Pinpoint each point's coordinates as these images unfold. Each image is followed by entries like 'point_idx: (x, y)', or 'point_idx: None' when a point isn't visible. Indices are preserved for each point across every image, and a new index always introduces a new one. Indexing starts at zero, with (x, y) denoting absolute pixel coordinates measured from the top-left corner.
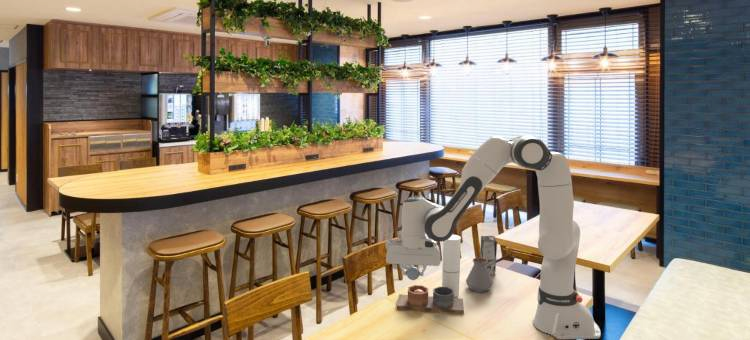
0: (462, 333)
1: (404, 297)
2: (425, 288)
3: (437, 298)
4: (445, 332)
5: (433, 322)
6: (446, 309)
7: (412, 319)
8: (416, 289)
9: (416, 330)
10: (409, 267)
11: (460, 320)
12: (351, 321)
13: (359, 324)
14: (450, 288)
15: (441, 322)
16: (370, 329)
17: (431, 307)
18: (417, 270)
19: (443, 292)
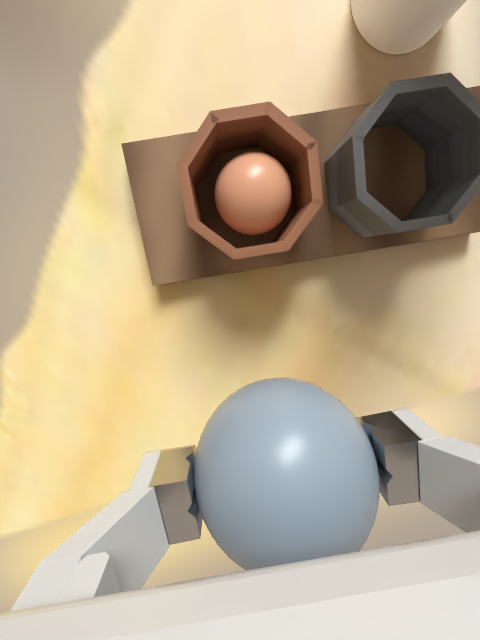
0: (458, 393)
1: (162, 177)
2: (295, 141)
3: (375, 226)
4: (395, 406)
5: (342, 348)
6: (399, 244)
7: (251, 352)
8: (226, 133)
9: None
10: (236, 534)
11: (453, 296)
12: (13, 445)
13: (56, 456)
14: (439, 10)
15: (374, 338)
16: (114, 474)
17: (326, 251)
18: (369, 532)
19: (399, 107)
